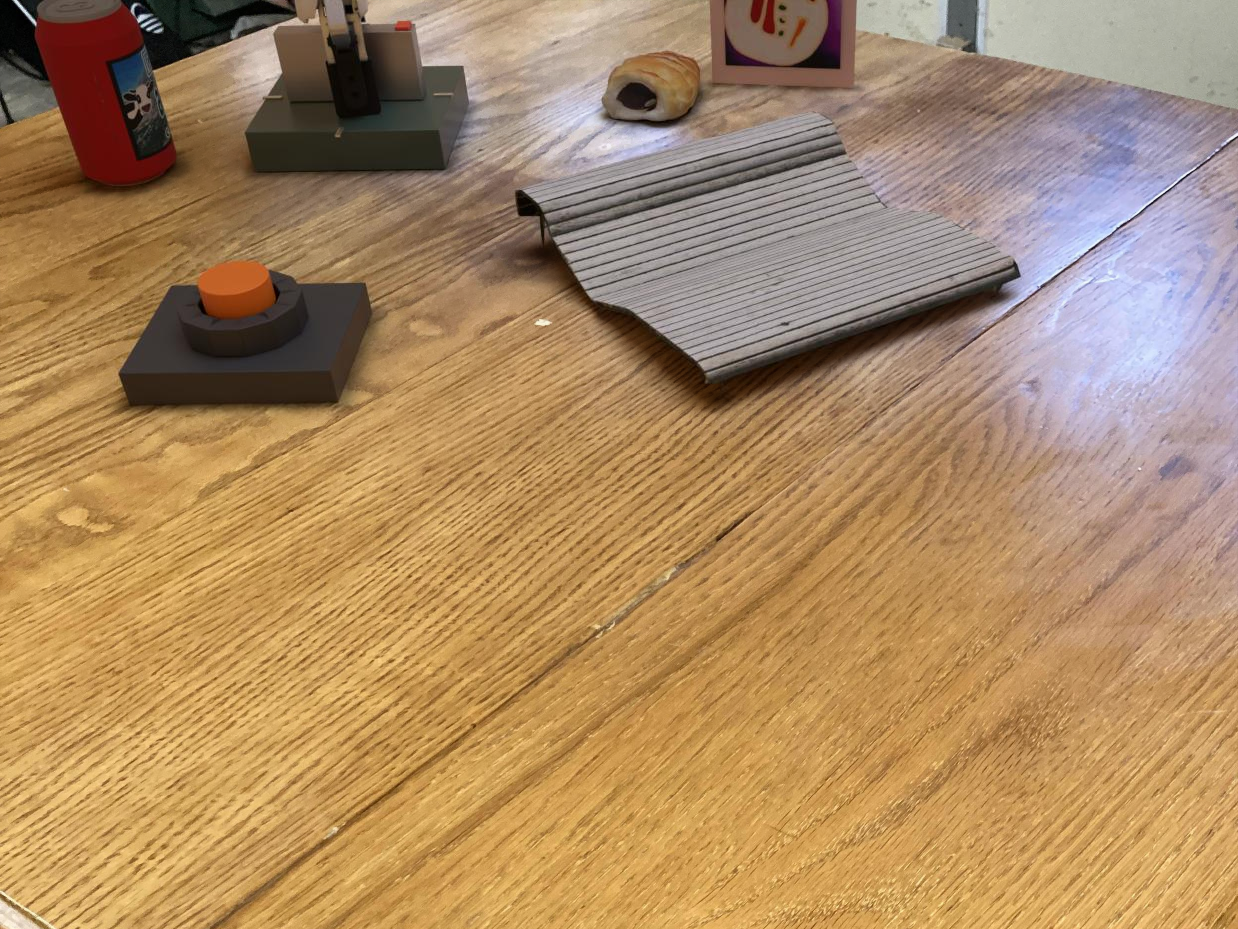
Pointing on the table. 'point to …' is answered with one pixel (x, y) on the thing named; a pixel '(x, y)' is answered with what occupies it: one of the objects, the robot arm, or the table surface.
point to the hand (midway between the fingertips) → (358, 94)
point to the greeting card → (783, 42)
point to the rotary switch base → (360, 130)
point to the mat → (755, 245)
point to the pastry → (652, 87)
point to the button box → (250, 348)
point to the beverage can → (105, 90)
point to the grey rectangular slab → (384, 44)
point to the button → (236, 290)
